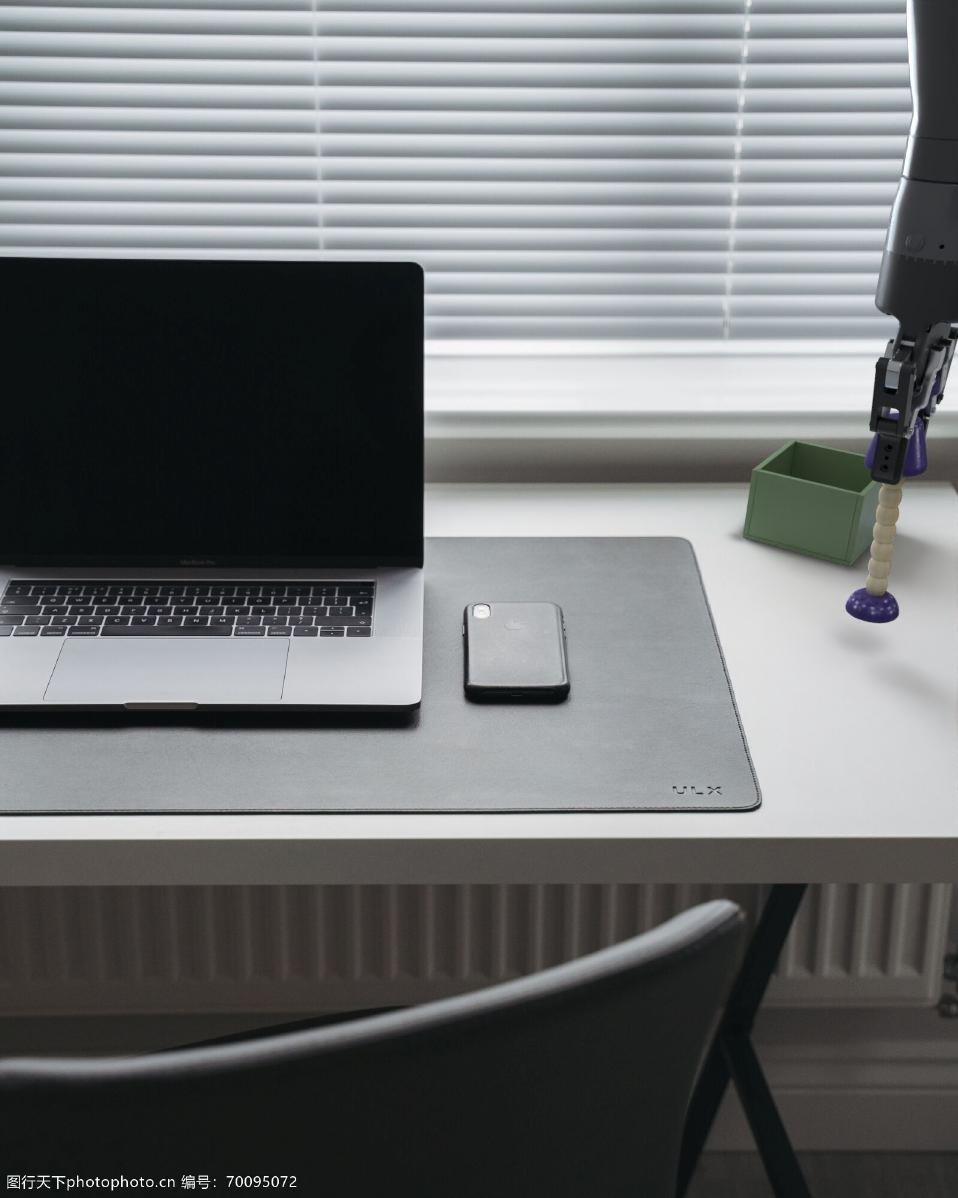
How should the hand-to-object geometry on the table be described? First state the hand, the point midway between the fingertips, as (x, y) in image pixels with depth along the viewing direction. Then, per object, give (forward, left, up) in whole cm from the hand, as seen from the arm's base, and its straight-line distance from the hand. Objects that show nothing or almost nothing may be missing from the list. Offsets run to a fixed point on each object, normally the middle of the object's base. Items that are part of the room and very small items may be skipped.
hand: (895, 470), depth 86 cm
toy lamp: (0, 0, -13) cm, 13 cm away
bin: (+11, -21, -16) cm, 29 cm away
